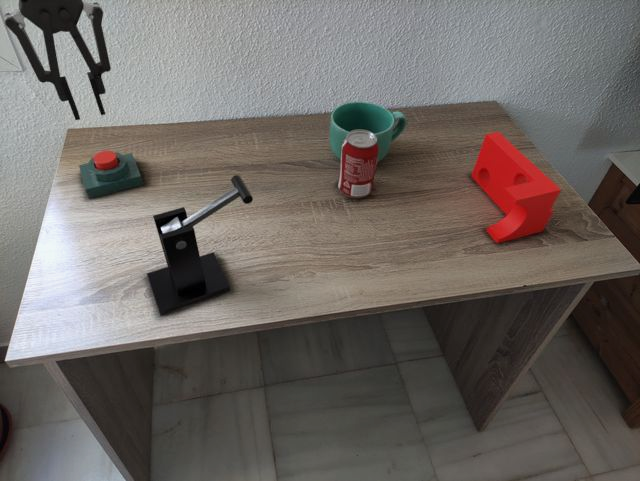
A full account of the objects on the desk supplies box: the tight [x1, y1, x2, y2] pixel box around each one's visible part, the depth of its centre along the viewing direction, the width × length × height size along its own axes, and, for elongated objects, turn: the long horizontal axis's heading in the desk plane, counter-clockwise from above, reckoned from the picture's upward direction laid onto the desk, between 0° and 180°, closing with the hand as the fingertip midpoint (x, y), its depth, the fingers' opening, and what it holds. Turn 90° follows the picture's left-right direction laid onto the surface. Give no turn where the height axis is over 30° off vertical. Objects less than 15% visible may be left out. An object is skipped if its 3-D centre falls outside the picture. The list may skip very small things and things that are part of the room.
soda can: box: [337, 130, 379, 199], centre depth 88 cm, size 7×7×12 cm
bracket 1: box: [146, 206, 231, 316], centre depth 69 cm, size 11×8×14 cm
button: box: [93, 150, 119, 171], centre depth 88 cm, size 4×4×2 cm
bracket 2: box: [471, 131, 562, 244], centre depth 87 cm, size 18×10×10 cm
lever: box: [161, 174, 254, 233], centre depth 66 cm, size 13×5×2 cm, turn 117°
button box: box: [78, 151, 144, 199], centre depth 90 cm, size 10×8×4 cm
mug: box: [329, 101, 407, 163], centre depth 97 cm, size 17×13×10 cm
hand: (89, 113), depth 81 cm, fingers open, 3 cm apart
